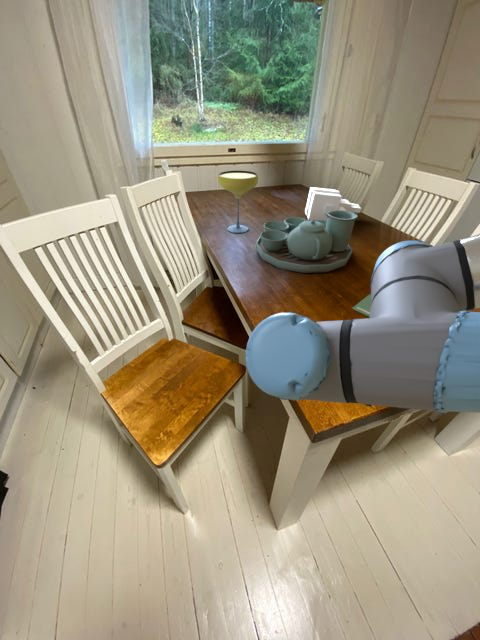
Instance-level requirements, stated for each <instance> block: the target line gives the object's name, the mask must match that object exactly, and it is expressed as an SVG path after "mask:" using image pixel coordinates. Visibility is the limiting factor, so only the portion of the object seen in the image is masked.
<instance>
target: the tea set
mask: <svg viewBox="0 0 480 640" xmlns="http://www.w3.org/2000/svg"><path fill="white" fill-rule="evenodd" d="M325 215H326V216H327V221H325V220H308V218H304V217H299V216H298V217H297V216H292V217H291V216H290V217H286V218H284V219H283V221H281V220H279V221H278V220H272V221H266V222H264V224H263V225H262V226H263V230H264V231H262V232H260V234H259V237H258V238H257V240H256V242H255V249H256V251H257V253H258V255H259V256H260V258H261V260H263V261H265V262H266V263H269V264H270V265H272V266H273V267H276V268H278V269H282V270H287V271H292V272H297V273H301V274H309V273H329V272H331V271H334V270H337V269H339V268H343V267H345V266H346V265H347V263H348V261H349V260H350V258H351V256H352V254H353V249H352V247H351V246H350V239H351V236H352V234H353V233H352V232H353V229H354V226H355V221H356V219H357V218H358V214H357V213H356V212H350V211H345V210H332V211H329V212H326V213H325Z"/></svg>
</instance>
